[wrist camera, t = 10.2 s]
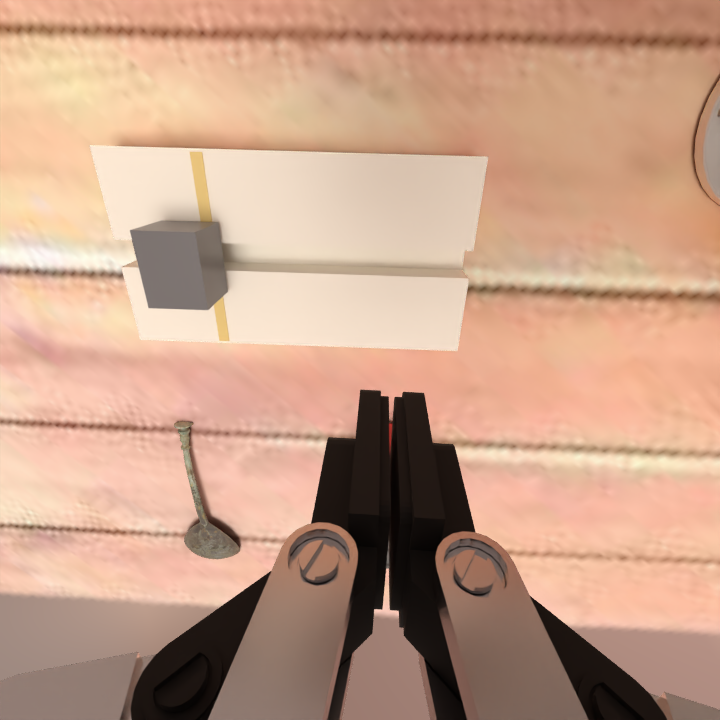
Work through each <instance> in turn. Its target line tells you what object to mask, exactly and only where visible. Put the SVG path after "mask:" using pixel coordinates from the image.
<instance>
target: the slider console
mask: <svg viewBox="0 0 720 720" xmlns="http://www.w3.org/2000/svg"><path fill="white" fill-rule="evenodd" d="M89 146H90V149H91V153H92V157H93V161H94V165H95V168H96V172H97V176H98V180H99V184H100V187H101V191H102V195H103V199H104V203H105V207H106V210H107V214H108V218H109V222H110V226H111V229H112V233H113V237H114V240H132V238H131V234H130V230H132V229H135V228H139V227H142V226H145V225H148V224H152V223H155V222H158V221H161V220H163V221H195V222H218V223H219V230H220V237H221V244H222V252H223V259H224V266H225V273H226V281H227V288H228V292H227V293H226V294H225V295H224V296H223V297H222V298H221V299H220V300H219V301H217V302H216V303H215V304H214V305H213V306H212V307H211V308H210V309H209V310H186V309H157V308H148V304H147V300H146V296H145V291H144V287H143V283H142V279H141V275H140V271H139V267H138V262H137V260H136V261H134V262H132V263H129V264H127V265H125V266H123V267H122V271H123V275H124V279H125V283H126V286H127V290H128V294H129V298H130V302H131V305H132V309H133V313H134V317H135V321H136V325H137V328H138V332H139V336H140V340H163V341H191V342H219V343H247V344H275V345H303V346H331V347H359V348H386V349H414V350H442V351H458V344H459V338H460V332H461V326H462V319H463V313H464V307H465V300H466V294H467V288H468V282H469V278H468V277H467V275H466V274H465V273H464V272H463V270H462V267H463V261H464V254H465V251H473V250H474V244H475V237H476V231H477V225H478V219H479V212H480V206H481V200H482V193H483V187H484V181H485V175H486V168H487V162H488V157H483V156H447V155H412V154H377V153H341V152H306V151H271V150H236V149H200V148H165V147H130V146H94V145H89Z"/></svg>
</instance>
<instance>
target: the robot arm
mask: <svg viewBox="0 0 720 720" xmlns="http://www.w3.org/2000/svg"><path fill="white" fill-rule="evenodd" d="M694 158H695V165H696V172H697V175H698V178H699V180H700V183H701V186H702V188H703V189H704V190H705V192H706V193H707V194H708V196H709V197H710V198H711V199H712V200H713V201H715V202H716V203H717V204H719V205H720V79H719V81H718V82H717V84H716V86H715V88H714V89H713V91H712V93H711V94H710V96H709V98H708V101H707V103H706V106H705V108H704V111H703V113H702V115H701V118H700V122H699V126H698V130H697V134H696V139H695V154H694ZM388 542H389V597H390V610H397V611H399V627H403V628H404V636H405V637H406V638H407V640H408V641H409V642H410V643H411V644H412V645H413V646H414V647H415V649H416V650H417V651H418V656H419V665H420V670H421V675H422V680H423V686H424V690H425V695H426V700H427V705H428V711H429V716H430V720H720V710H718V709H716V708H713V707H710V706H707V705H704V704H700V703H697V702H694V701H691V700H688V699H685V698H681V697H679V696H676V695H672V694H669V693H666V692H664V693H663V694H662V695H661V696H660V697H659V696H656V695H653V694H650V693H648V692H647V691H646V690H645V689H644V688H643V687H642V686H641V685H640V684H639V683H638V682H637V681H636V680H634V679H633V678H632V677H631V676H630V675H628V674H627V673H626V672H625V671H623V670H622V669H621V668H619V667H618V666H617V665H616V664H615V663H613V662H612V661H611V660H610V659H608V658H607V657H606V656H605V655H603V654H602V653H601V652H600V651H598V650H597V649H596V648H595V647H593V646H592V645H591V644H590V643H588V642H587V641H586V640H585V639H583V638H582V637H581V636H580V635H578V634H577V633H576V632H575V631H573V630H572V629H571V628H570V627H568V626H567V625H566V624H565V623H563V622H562V621H561V620H560V619H558V618H557V617H556V616H555V615H553V614H552V613H551V612H550V611H548V610H547V609H546V608H545V607H543V606H542V605H541V604H540V603H538V602H537V601H536V600H535V599H533V598H532V597H531V596H530V595H529V593H528V591H527V589H526V587H525V585H524V583H523V581H522V579H521V577H520V574H519V572H518V570H517V568H516V566H515V564H514V562H513V561H512V559H511V557H510V556H509V554H508V553H507V552H506V551H505V550H504V549H503V548H502V547H501V546H500V545H499V544H498V543H497V542H495V541H493V540H492V539H490V538H488V537H487V536H484V535H481V534H478V533H475V529H474V524H473V520H472V516H471V512H470V508H469V504H468V500H467V495H466V491H465V487H464V483H463V479H462V475H461V471H460V467H459V462H458V458H457V454H456V450H455V447H454V445H453V444H439V443H432V437H431V431H430V425H429V419H428V413H427V407H426V401H425V395H424V393H414V392H403V395H402V397H395V399H394V411H393V423H392V435H391V447H390V442H389V397H386V396H381V391H375V390H360V399H359V410H358V420H357V430H356V439H349V438H331V437H329V438H328V440H327V445H326V450H325V455H324V460H323V465H322V471H321V476H320V481H319V486H318V491H317V496H316V502H315V507H314V512H313V517H312V522H311V524H308V525H305V526H303V527H301V528H299V529H297V530H296V531H295V532H294V533H292V534H291V535H290V536H289V537H288V538H287V540H286V541H285V543H284V545H283V546H282V548H281V550H280V552H279V555H278V557H277V559H276V562H275V564H274V566H273V569H272V571H270V572H269V573H268V574H266V575H265V576H263V577H262V578H261V579H259V580H258V581H256V582H255V583H254V584H252V585H251V586H249V587H248V588H246V589H245V590H244V591H242V592H241V593H239V594H238V595H237V596H235V597H234V598H232V599H231V600H230V601H228V602H227V603H225V604H224V605H223V606H221V607H220V608H218V609H217V610H215V611H214V612H213V613H211V614H210V615H209V616H207V617H206V618H204V619H203V620H201V621H200V622H199V623H197V624H196V625H194V626H193V627H192V628H190V629H189V630H187V631H186V632H184V633H183V634H182V635H180V636H179V637H178V638H176V639H175V640H173V641H172V642H170V643H169V644H168V645H167V646H165V647H164V648H163V649H162V650H161V651H160V652H159V653H158V654H156V655H151V656H144V657H140V655H139V653H138V652H136V653H130V654H125V655H119V656H114V657H109V658H103V659H98V660H92V661H87V662H82V663H76V664H71V665H66V666H60V667H55V668H49V669H44V670H39V671H34V672H28V673H22V674H18V675H15V676H12V677H9V678H7V679H4V680H1V681H0V720H342V717H343V712H344V707H345V702H346V696H347V691H348V685H349V681H350V675H351V670H352V665H353V659H354V651H355V650H356V649H357V648H358V647H359V646H360V645H361V644H362V643H363V642H364V641H365V640H366V639H367V638H368V637H369V636H370V635H371V634H372V630H373V617H374V609H382V607H383V596H384V585H385V574H386V564H387V553H388Z"/></svg>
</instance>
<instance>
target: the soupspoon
mask: <svg viewBox="0 0 720 720" xmlns="http://www.w3.org/2000/svg"><path fill="white" fill-rule="evenodd" d="M192 425H193V423H191V422H177V423H175V424H174V427H175V428H178V433H179V434H180V441H181V442H182V446H181V449H182V450H183V454H184V460H185V465H186V470H187V475H188V479H189V483H190V487H191V491H192V494H193V499H194V503H195V507H196V511H197V514H198V517H199V520H200V522H199V523H198V524H196V525H194V526H193V527H192V528H191V529H189V531H188V532H187V534H186V535H185V538H184V542H185V544H186V546H187V547H188V548H189V549H190V550H191V551H192V552H193V553H195V554H197V555H199V556H201V557H205V558H209V559H223V558H228V557H231V556H233V555H235V554H237V553H238V552H239V551H240V548H239V546H238V545H237V544H236V543H235V542H234V541H233V540H232V539H231V538H230V537H229V536H228V535H226V534H225V533H224V532H222V531H221V530H220V529H218V528H217V527H215V526H214V525H212V524H211V523H209V521H208V519H207V517H206V514H205V511H204V508H203V505H202V502H201V498H200V494H199V491H198V486H197V483H196V479H195V475H194V471H193V466H192V461H191V457H190V453H189V449H190V448H191V446H190V445H189V441H190V437H189V432H190V429H189V428H188V427H190V426H192Z"/></svg>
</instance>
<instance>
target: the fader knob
mask: <svg viewBox="0 0 720 720" xmlns="http://www.w3.org/2000/svg"><path fill="white" fill-rule="evenodd" d="M130 234H131V238H132V242H133V246H134V250H135V254H136V258H137V262H138V267H139V271H140V275H141V279H142V283H143V287H144V291H145V296H146V300H147V304H148V308H157V309H186V310H209V309H210V308H211V307H212V306H213V305H214V304H215V303H216V302H217V301H219V300H220V299H221V298H222V297H223V296H224V295H225V294H226V293H227V292H228V288H227V281H226V273H225V266H224V259H223V252H222V244H221V237H220V230H219V223H218V222H195V221H163V220H161V221H158V222H155V223H152V224H148V225H145V226H142V227H139V228H135V229H132V230H130Z"/></svg>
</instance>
